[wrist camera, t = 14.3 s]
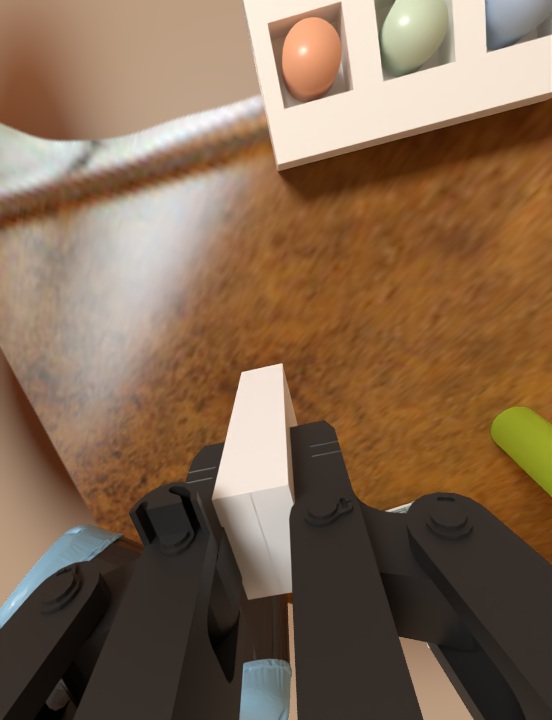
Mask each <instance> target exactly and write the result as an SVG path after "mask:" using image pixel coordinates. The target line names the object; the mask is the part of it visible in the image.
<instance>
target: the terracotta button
mask: <svg viewBox="0 0 552 720" xmlns="http://www.w3.org/2000/svg"><path fill="white" fill-rule="evenodd" d="M341 59H342V46H341V41H340V38H339V36H338V33H337V32H336V30H335V29H334V27H333V26H332V25H331V24H330V23H328V22H327V21H326V20H323V19H321V18H317V17H310V18H305V19H303V20H301V21H299V22H298V23H296V24H295V25H294V26H293V27H292V28H291V30H290V31H289V33H288V35H287V37H286V39H285V42H284V46H283V55H282V78H283V82H284V85H285V87H286V89H287V91H288V92H289V93H290V95H291V96H292V97H294V98H295V99H297V100H298V101H301V102H305V103H308V102H311V101H315V100H319V99H321V98H323V97H324V96H325V95H326V94H327V93H328V92H329V90H330V89H331V87H332V85H333V82H334V80H335V77H336V75H337V72H338V70H339V67H340V64H341Z"/></svg>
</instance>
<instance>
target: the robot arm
mask: <svg viewBox="0 0 552 720" xmlns="http://www.w3.org/2000/svg"><path fill="white" fill-rule="evenodd" d="M129 515H130V517H131V519H132V521H133V523H134V525H135V527H136V529H137V532H138V534H139V536H140V538H141V540H142V542H143V544H144V545H142V544H140V543H137V542H135V541H132V540H130V539H128V538H125V537H124V535H123V534H122V533H118V534H116V533H113V532H110V531H107V530H104V529H101V528H98V527H95V526H92V525H86V524H85V525H79V526H76V527H74V528H72V529H71V530H69V531H67V532H66V533H65V534H63V535H62V536H61V537H60V538H59V539H58V540H57V541H56V542H55V543H54V544H53V545H52V546H51V547H50V548H49V549H48V550H47V551H46V553H45V554H44V555H43V556H42V557H41V558H40V559H39V561H38V562H37V563H36V564H35V565H34V566H33V568H32V569H31V570H30V571H29V572H28V574H27V575H26V576H25V577H24V579H23V580H22V581H21V582H20V584H19V585H18V586H17V587H16V588H15V590H14V591H13V592H12V594H11V595H10V596H9V598H8V599H7V600H6V602H5V603H4V604H3V606H2V607H1V609H0V720H288V717H289V706H290V681H291V676H292V670H291V666H290V654H289V630H288V629H289V628H288V606H287V605H288V603H287V593H290V592H292V599H293V622H294V645H295V667H296V692H297V711H298V712H297V714H298V720H423V717H422V713H421V710H420V707H419V703H418V700H417V697H416V694H415V690H414V687H413V683H412V680H411V677H410V673H409V670H408V667H407V663H406V660H405V657H404V654H403V650H402V647H401V643H400V640H399V637H404V638H409V639H414V640H419V641H424V642H427V644H428V646H429V647H430V649H431V650H432V652H433V654H434V655H435V657H436V659H437V660H438V662H439V664H440V665H441V667H442V668H443V670H444V672H445V673H446V675H447V677H448V678H449V680H450V682H451V683H452V685H453V686H454V688H455V690H456V691H457V693H458V694H459V696H460V698H461V699H462V701H463V703H464V704H465V706H466V708H467V709H468V711H469V712H470V714H471V716H472V717H473V719H474V720H552V565H551V564H550V563H549V562H548V561H546V560H545V559H544V558H543V557H542V556H541V555H539V554H538V553H537V552H536V551H535V550H534V549H532V548H531V547H530V546H529V545H528V544H527V543H525V542H524V541H523V540H522V539H521V538H520V537H518V536H517V535H516V534H515V533H514V532H513V531H511V530H510V529H509V528H508V527H507V526H506V525H504V524H503V523H502V522H501V521H500V520H499V519H497V518H496V517H495V516H494V515H493V514H492V513H490V512H489V511H488V510H487V509H486V508H485V507H483V506H482V505H480V504H479V503H477V502H475V501H474V500H472V499H471V498H468V497H465V496H462V495H458V494H455V493H441V492H437V493H433V494H428V495H424V496H422V497H421V498H419V499H417V500H416V501H414V502H413V503H412V504H411V506H410V507H409V509H408V511H407V513H397V512H387V511H381V510H377V509H375V508H372V507H369V506H367V505H366V504H364V503H363V502H361V501H360V500H359V499H358V498H357V497H356V496H355V494H354V492H353V490H352V487H351V483H350V480H349V476H348V473H347V470H346V466H345V463H344V459H343V456H342V453H341V449H340V446H339V443H338V439H337V436H336V432H335V429H334V428H333V427H332V426H331V425H330V424H328V423H327V422H326V421H325V420H323V421H318V422H313V423H308V424H304V425H299V426H298V425H297V421H296V417H295V413H294V409H293V405H292V401H291V397H290V393H289V389H288V385H287V381H286V377H285V373H284V368H283V364H282V363H281V364H277V365H272V366H268V367H264V368H259V369H255V370H250V371H246V372H242V374H241V378H240V382H239V386H238V390H237V395H236V399H235V403H234V407H233V412H232V416H231V420H230V424H229V429H228V433H227V437H226V441H225V442H223V443H219V444H214V445H209V446H204V447H203V448H202V450H201V451H200V452H199V453H198V454H197V455H196V456H195V457H194V459H193V461H192V464H191V467H190V470H189V474H188V475H187V478H186V481H185V482H175V483H170V484H167V485H164V486H160V487H158V488H156V489H155V490H153V491H151V492H149V493H147V494H146V495H145V496H144V497H143V498H141V499H140V500H139V501H138V502H137V503H136V504H135V505H134V507H133V508H132V509H131V511H130V512H129ZM398 636H399V637H398Z"/></svg>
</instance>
